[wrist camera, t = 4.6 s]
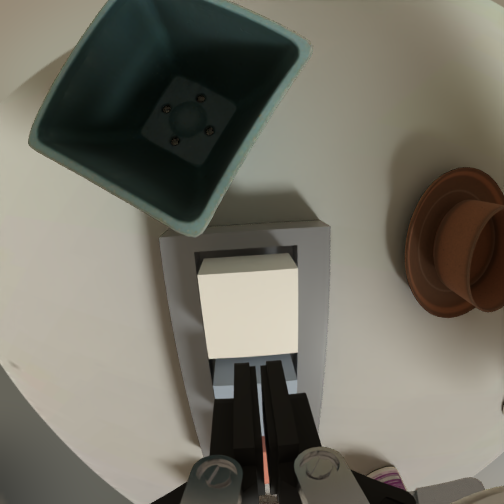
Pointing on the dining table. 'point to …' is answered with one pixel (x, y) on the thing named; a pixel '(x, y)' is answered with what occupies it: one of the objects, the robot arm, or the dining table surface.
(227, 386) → the key blue
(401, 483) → the pill bottle
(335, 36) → the dining table surface
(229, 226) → the grey flat tray
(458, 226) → the cup and saucer
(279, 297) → the key white
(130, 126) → the flower pot
